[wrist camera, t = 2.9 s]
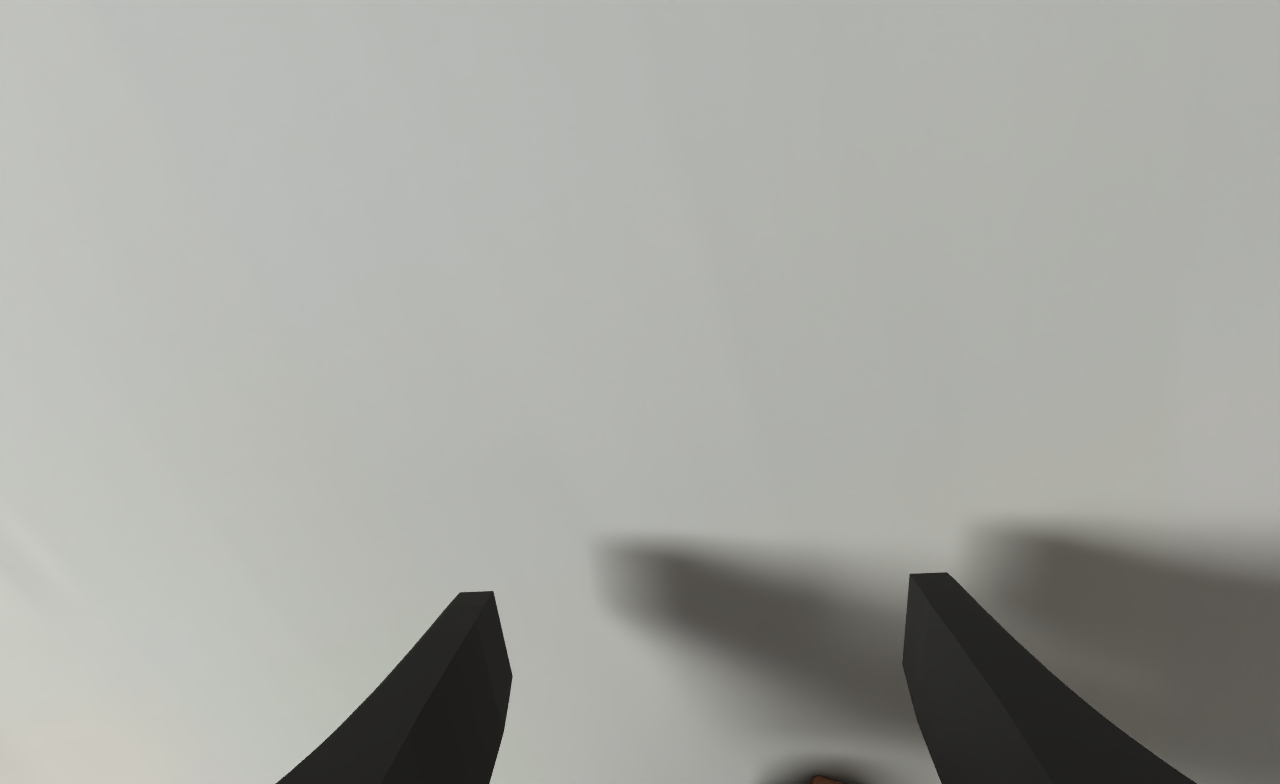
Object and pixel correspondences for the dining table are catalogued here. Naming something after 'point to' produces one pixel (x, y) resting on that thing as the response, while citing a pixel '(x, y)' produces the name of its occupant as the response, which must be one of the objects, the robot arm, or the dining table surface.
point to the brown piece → (823, 781)
